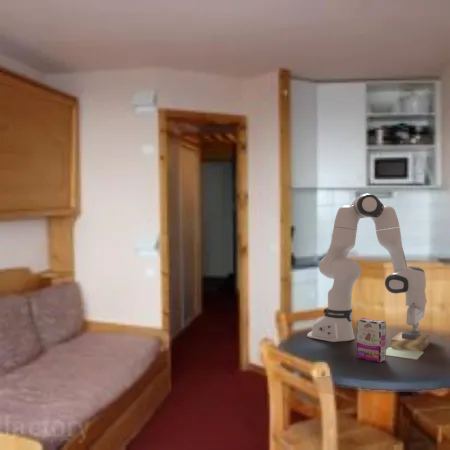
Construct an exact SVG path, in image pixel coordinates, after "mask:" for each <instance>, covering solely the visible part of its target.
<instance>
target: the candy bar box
mask: <svg viewBox="0 0 450 450" xmlns="http://www.w3.org/2000/svg"><path fill="white" fill-rule="evenodd" d="M386 343H387V322H386V321H384V320H378V319H371V318H365V317H362V318H359V319H356V359H361V360H364V361H369V362H370V361H371V362H375V363H383V362H385V361H387V356H386V349H387V344H386Z"/></svg>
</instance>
